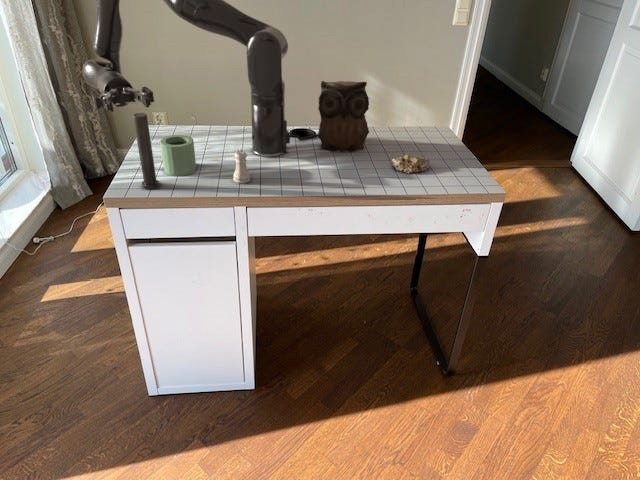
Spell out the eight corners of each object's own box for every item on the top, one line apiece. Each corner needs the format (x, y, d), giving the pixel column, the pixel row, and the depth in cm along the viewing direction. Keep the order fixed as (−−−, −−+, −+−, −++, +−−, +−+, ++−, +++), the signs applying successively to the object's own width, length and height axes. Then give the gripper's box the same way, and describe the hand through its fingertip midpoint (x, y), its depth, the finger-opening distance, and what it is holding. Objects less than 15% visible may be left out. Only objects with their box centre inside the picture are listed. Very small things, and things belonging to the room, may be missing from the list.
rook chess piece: (247, 185, 124) (246, 155, 119) (230, 183, 124) (228, 153, 120) (252, 178, 127) (252, 149, 123) (236, 175, 128) (235, 147, 124)
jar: (193, 161, 134) (190, 133, 130) (198, 173, 128) (195, 145, 124) (162, 164, 132) (158, 136, 127) (166, 177, 125) (162, 148, 121)
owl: (368, 148, 148) (376, 81, 137) (339, 158, 141) (345, 88, 130) (339, 136, 156) (343, 71, 145) (310, 145, 148) (312, 78, 137)
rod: (158, 181, 123) (148, 111, 113) (160, 188, 120) (149, 117, 110) (141, 183, 122) (130, 112, 112) (143, 190, 119) (131, 118, 109)
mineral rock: (397, 167, 132) (391, 148, 137) (393, 179, 135) (388, 160, 140) (435, 168, 133) (428, 149, 138) (430, 180, 136) (424, 161, 142)
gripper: (83, 76, 126) (95, 93, 114) (140, 71, 132) (157, 87, 121) (89, 105, 130) (102, 124, 118) (144, 99, 136) (161, 116, 125)
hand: (129, 105), depth 120 cm, fingers open, 8 cm apart
